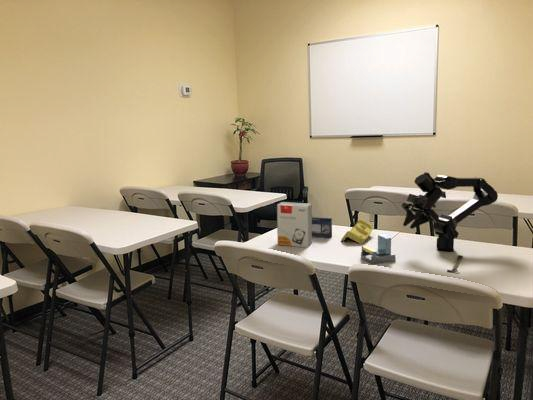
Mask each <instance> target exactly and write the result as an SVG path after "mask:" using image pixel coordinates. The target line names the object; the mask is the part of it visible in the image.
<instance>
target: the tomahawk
mask: <svg viewBox="0 0 533 400" xmlns="http://www.w3.org/2000/svg"><path fill="white" fill-rule="evenodd" d="M463 258H464V256H463V255H461V254H459V255H457V258H456V260H455V263H454V265H453V267H452V270H451V269H447V270H446V272H447V273H451V274H458V275H460V273H461V272H459V271H458V270H457V269H458V267H459V265H460V263H461V261H462V259H463Z"/></svg>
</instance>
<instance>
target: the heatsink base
mask: <svg viewBox="0 0 533 400" xmlns="http://www.w3.org/2000/svg"><path fill="white" fill-rule="evenodd" d="M375 250H376V249H373V248H370V247H368V246H367V245H362V246H361V252H360V258H361V259H362V260H364V261H365V262H367V263H369V264H371V265H377V264H383V263H384V262H385V263H389V262H396V259H397V258H396V254H394V253H391V255H384V256H377V251H375Z"/></svg>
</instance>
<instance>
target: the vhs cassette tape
mask: <svg viewBox="0 0 533 400" xmlns="http://www.w3.org/2000/svg"><path fill="white" fill-rule="evenodd" d="M322 237H323V239H331V238H332V237H333V219H332V217H318V216H317V217H316V216H315V217H314V216H312V238H322Z"/></svg>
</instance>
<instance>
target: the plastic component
mask: <svg viewBox="0 0 533 400" xmlns="http://www.w3.org/2000/svg"><path fill="white" fill-rule="evenodd" d="M373 230H374V227H373V226H372V224H371V223H368V222H367V221H366V220H364V219H359V220H357V222H356V223H355V224H354V226H353V227H352V228H351V229H350V230H348V231H346V232H345V233H344V236H342V238H341V242H344V241H345V240H346V239H347V238H349V239H351V240H352V241H355V242H357V243H358V244H364V243H365V241H366V240H367V239H368V238H369V237H370V235H371V234H372V232H373Z"/></svg>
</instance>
